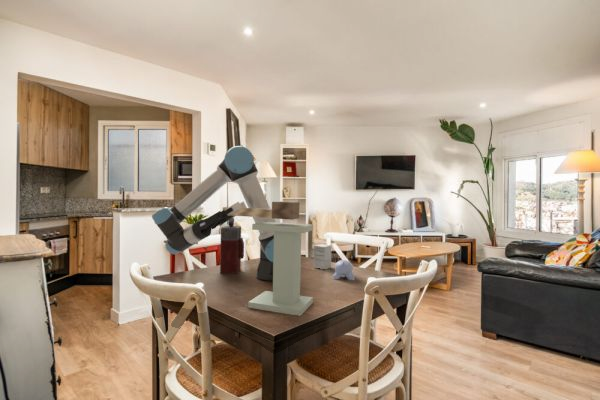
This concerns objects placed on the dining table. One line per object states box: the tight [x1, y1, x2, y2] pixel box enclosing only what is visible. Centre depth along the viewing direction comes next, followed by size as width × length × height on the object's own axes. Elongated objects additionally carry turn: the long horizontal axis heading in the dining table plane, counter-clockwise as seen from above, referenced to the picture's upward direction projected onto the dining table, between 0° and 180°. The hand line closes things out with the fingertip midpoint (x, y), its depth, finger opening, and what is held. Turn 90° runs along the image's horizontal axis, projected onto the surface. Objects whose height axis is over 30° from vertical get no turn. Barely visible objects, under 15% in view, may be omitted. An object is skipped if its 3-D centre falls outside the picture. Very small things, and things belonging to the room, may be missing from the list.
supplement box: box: [313, 243, 332, 270], centre depth 176 cm, size 7×7×13 cm
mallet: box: [222, 201, 300, 221], centre depth 119 cm, size 30×7×6 cm, turn 70°
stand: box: [247, 222, 314, 317], centre depth 116 cm, size 20×14×30 cm
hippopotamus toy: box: [332, 259, 356, 281], centre depth 157 cm, size 11×15×10 cm
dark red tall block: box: [219, 217, 245, 275], centre depth 163 cm, size 9×11×28 cm
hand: (242, 204), depth 122 cm, fingers closed on mallet, 3 cm apart
